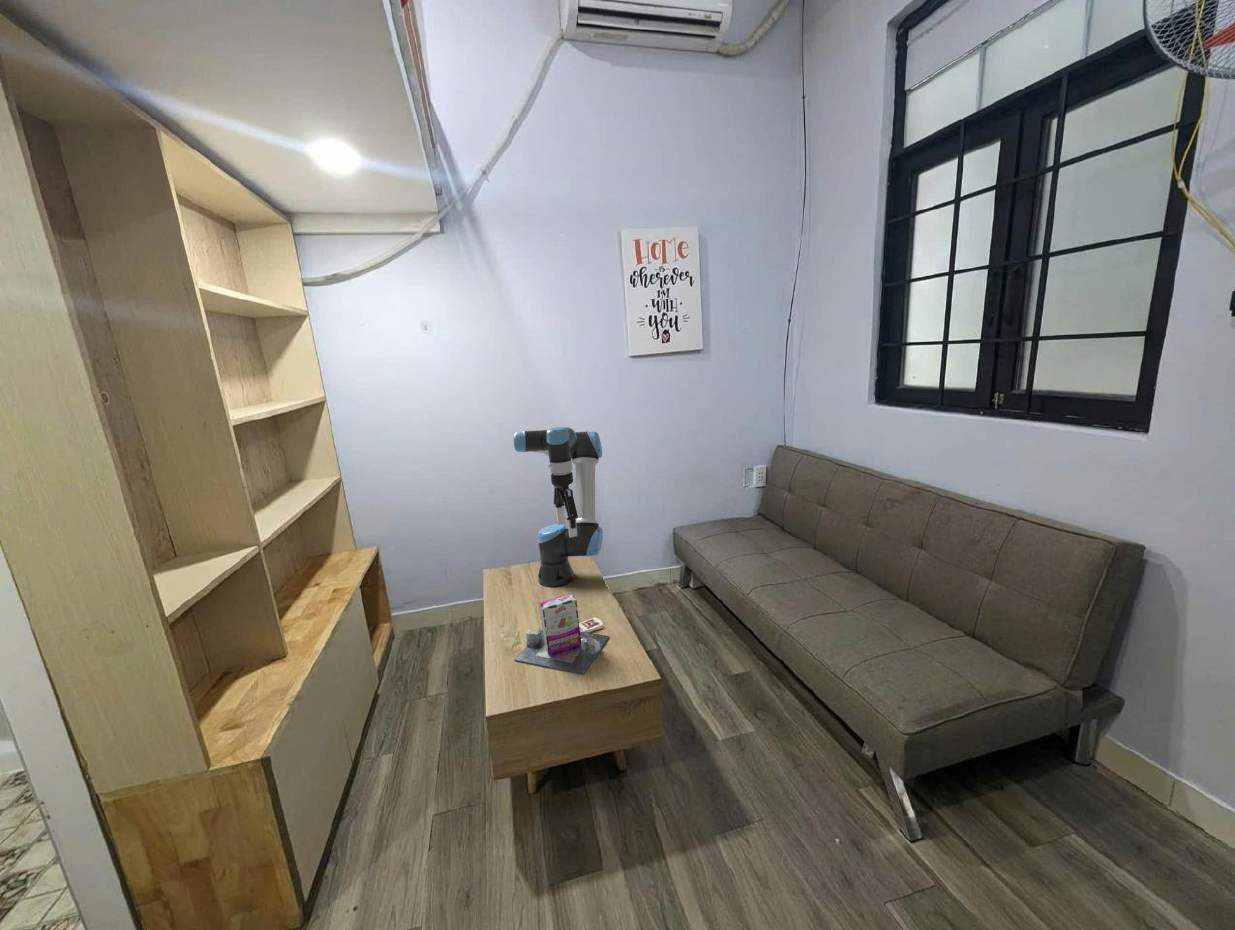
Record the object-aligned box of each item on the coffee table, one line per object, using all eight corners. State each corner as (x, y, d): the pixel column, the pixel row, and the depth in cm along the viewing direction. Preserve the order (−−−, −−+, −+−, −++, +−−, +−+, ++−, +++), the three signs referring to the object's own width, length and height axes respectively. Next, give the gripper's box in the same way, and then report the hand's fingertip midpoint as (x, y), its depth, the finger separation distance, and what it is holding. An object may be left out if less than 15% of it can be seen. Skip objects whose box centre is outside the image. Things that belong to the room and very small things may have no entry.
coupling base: (511, 660, 151) (509, 646, 150) (543, 626, 169) (542, 614, 168) (586, 675, 142) (585, 661, 141) (612, 637, 160) (611, 625, 159)
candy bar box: (576, 638, 160) (572, 592, 156) (581, 645, 155) (577, 599, 152) (544, 647, 156) (538, 601, 152) (548, 656, 151) (542, 608, 148)
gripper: (541, 467, 176) (547, 521, 181) (561, 482, 153) (568, 544, 158) (561, 464, 179) (566, 517, 184) (584, 478, 156) (589, 539, 161)
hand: (567, 530), depth 171 cm, fingers open, 13 cm apart
